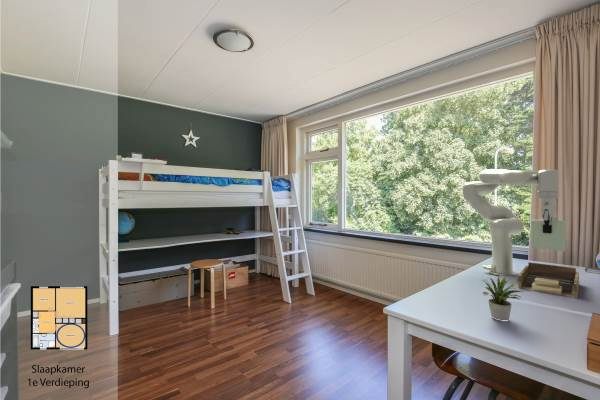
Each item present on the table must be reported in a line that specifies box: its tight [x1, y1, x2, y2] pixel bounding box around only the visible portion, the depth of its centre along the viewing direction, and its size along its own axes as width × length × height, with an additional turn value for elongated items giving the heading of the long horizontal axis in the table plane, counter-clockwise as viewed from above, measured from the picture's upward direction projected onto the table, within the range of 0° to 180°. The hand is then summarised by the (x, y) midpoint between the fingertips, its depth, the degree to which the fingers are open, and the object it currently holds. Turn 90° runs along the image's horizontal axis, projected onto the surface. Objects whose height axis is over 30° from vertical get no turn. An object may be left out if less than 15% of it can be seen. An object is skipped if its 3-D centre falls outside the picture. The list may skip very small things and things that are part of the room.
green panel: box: [530, 219, 566, 252], centre depth 135 cm, size 3×12×14 cm, turn 42°
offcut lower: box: [532, 282, 562, 296], centre depth 127 cm, size 6×10×2 cm, turn 44°
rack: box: [517, 261, 580, 299], centre depth 134 cm, size 25×20×9 cm
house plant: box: [481, 275, 523, 321], centre depth 102 cm, size 14×14×16 cm
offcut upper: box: [535, 278, 559, 289], centre depth 127 cm, size 4×8×2 cm, turn 44°
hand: (547, 232), depth 135 cm, fingers closed on green panel, 3 cm apart
